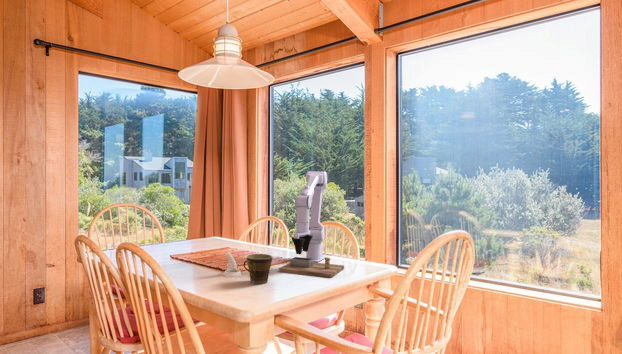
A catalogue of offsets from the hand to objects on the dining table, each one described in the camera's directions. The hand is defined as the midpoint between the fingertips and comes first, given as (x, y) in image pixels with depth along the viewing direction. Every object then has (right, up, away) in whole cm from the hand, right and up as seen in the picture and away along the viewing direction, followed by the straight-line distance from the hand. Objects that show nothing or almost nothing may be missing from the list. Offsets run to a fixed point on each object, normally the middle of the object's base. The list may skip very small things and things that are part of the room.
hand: (302, 252), depth 180 cm
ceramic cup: (-17, -7, -24) cm, 31 cm away
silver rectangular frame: (0, -6, 0) cm, 6 cm away
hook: (-29, -7, -13) cm, 32 cm away
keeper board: (+5, -7, -2) cm, 9 cm away
